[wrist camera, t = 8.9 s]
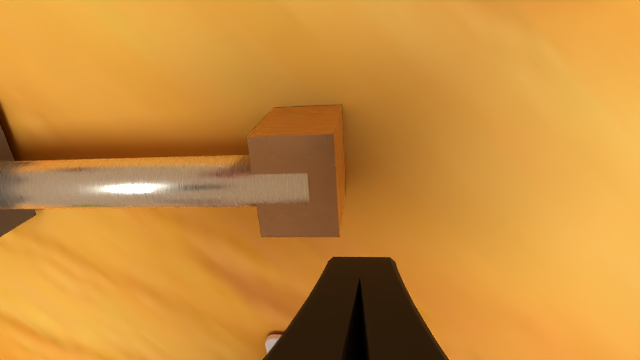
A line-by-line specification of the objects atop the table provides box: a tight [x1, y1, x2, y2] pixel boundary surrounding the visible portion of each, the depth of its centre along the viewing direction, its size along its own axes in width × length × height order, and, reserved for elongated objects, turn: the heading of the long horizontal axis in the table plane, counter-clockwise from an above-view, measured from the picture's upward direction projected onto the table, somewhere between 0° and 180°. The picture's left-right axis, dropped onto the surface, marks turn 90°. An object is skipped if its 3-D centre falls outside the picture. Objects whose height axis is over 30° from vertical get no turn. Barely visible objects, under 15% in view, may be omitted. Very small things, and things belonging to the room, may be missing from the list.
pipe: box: [0, 105, 346, 237], centre depth 17 cm, size 22×4×5 cm, turn 94°
